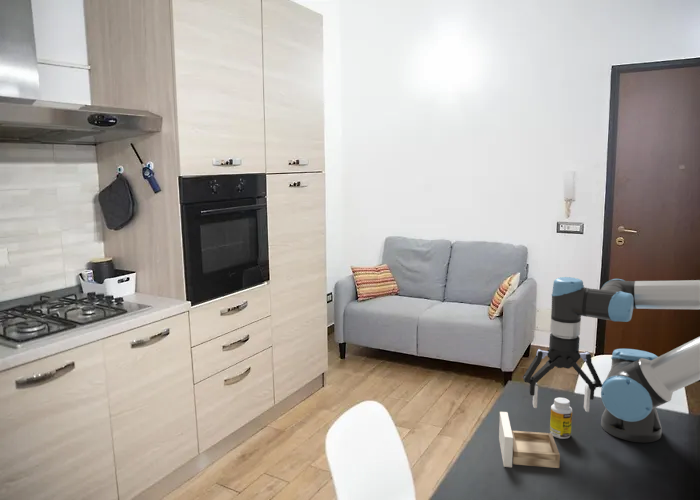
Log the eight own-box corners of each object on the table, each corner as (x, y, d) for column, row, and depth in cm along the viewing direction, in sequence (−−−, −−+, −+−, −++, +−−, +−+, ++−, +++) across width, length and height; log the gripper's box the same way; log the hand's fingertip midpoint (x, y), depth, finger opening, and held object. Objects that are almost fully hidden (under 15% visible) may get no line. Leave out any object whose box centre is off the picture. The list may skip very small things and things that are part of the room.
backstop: (506, 439, 148) (507, 412, 146) (512, 467, 134) (513, 437, 133) (499, 438, 148) (499, 411, 147) (503, 466, 134) (504, 436, 133)
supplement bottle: (562, 441, 146) (564, 406, 144) (545, 433, 151) (547, 399, 149) (575, 435, 149) (577, 401, 147) (557, 428, 154) (559, 394, 152)
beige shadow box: (551, 445, 144) (551, 433, 144) (559, 468, 133) (559, 455, 133) (508, 442, 146) (509, 430, 146) (513, 464, 135) (513, 451, 135)
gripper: (610, 332, 147) (604, 405, 150) (515, 327, 151) (512, 398, 155) (618, 341, 139) (612, 417, 143) (518, 336, 144) (515, 410, 147)
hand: (560, 407), depth 149 cm, fingers open, 13 cm apart
